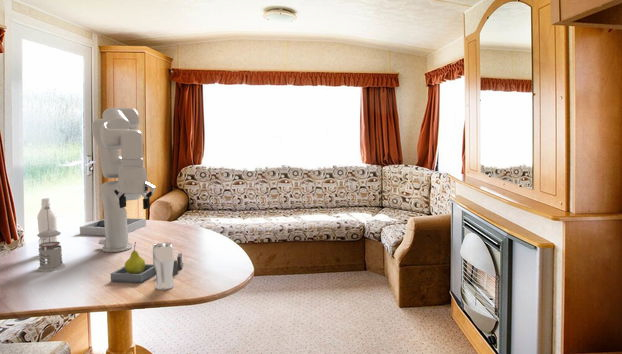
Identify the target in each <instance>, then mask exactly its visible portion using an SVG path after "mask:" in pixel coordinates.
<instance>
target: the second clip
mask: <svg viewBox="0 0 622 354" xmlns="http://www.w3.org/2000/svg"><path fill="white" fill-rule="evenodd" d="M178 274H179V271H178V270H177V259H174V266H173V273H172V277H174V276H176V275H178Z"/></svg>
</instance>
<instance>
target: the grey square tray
mask: <svg viewBox="0 0 622 354" xmlns="http://www.w3.org/2000/svg"><path fill="white" fill-rule="evenodd" d="M153 276H156V272H155V268H154V264H153V263H152V264H151V263H145V268H144V270H143V271H142V272H141V273H140V274H129V273H128V272H127V271H126V269H125V265H124V266H122V267H120V268H118V269H117V270H115V271H113V272H111V273H110V283H127V284H129V283H130V284H144V283H145V282H146V281H148V280H149V279H151V278H152V277H153Z"/></svg>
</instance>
